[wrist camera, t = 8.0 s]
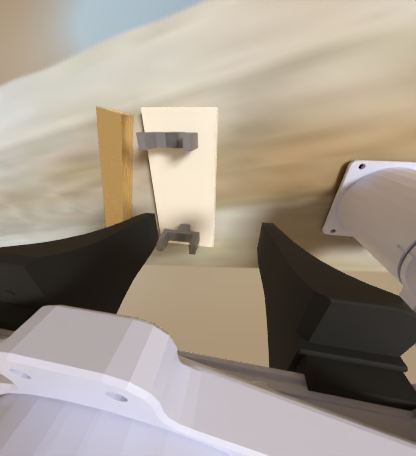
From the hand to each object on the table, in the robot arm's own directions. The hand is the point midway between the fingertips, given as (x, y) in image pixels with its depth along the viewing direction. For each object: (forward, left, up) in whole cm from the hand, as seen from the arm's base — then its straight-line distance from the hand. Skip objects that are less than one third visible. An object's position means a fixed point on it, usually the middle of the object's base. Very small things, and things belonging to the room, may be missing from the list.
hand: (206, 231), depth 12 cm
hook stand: (+4, 0, -9) cm, 10 cm away
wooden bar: (+12, 0, -10) cm, 15 cm away
